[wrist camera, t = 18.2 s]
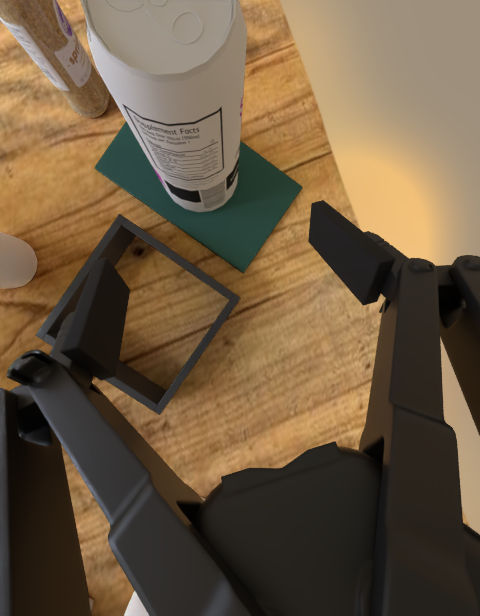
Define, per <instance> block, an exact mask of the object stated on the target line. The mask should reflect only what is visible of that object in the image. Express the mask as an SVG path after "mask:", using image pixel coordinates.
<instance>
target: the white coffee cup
mask: <svg viewBox="0 0 480 616" xmlns="http://www.w3.org/2000/svg"><path fill="white" fill-rule="evenodd" d="M37 262H38V261H37V258H36V255H35V251H34V250H33V249H32V248H31V246H30V245H29V244H28V243H26V242H25V241H23V240H21V239H19V238H17V237H14V236H11V235H8V234H5V233H2V232H0V288H12V289H13V288H17V287H21V286H24V285H25V284H27V283H28V282H29V281H31V280H32V278H33V276H34V275H35V273H36V271H37Z"/></svg>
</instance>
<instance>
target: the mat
mask: <svg viewBox="0 0 480 616" xmlns="http://www.w3.org/2000/svg"><path fill="white" fill-rule="evenodd" d="M95 169H96V170H97V171H99V172H100V173H102V174H103V175H104V176H106V177H107V178H109V179H110V180H112V181H113V182H114V183H116V184H117V185H119V186H120V187H121V188H123V189H124V190H126V191H127V192H129V193H130V194H131V195H133V196H134V197H136V198H137V199H139V200H140V201H141V202H143V203H144V204H146V205H147V206H148V207H150V208H151V209H153V210H154V211H156V212H157V213H158V214H160V215H161V216H163V217H164V218H166V219H167V220H168V221H170V222H171V223H173V224H174V225H175V226H177V227H178V228H180V229H181V230H183V231H184V232H185V233H187V234H188V235H190V236H191V237H193V238H194V239H195V240H197V241H198V242H200V243H201V244H203V245H204V246H205V247H207V248H208V249H210V250H211V251H212V252H214V253H215V254H217V255H218V256H220V257H221V258H222V259H224V260H225V261H227V262H228V263H230V264H231V265H232V266H234V267H235V268H237V269H238V270H239V271H241V272H242V273H244V271H245V270H246V268H247V267H248V265H249V264H250V263H251V261H252V260H253V258H254V257H255V255H256V254H257V252H258V251H259V250H260V248H261V247H262V245H263V244H264V242H265V241H266V239H267V238H268V236H269V235H270V234H271V232H272V231H273V229H274V228H275V226H276V225H277V223H278V222H279V221H280V219H281V218H282V216H283V215H284V213H285V212H286V210H287V209H288V208H289V206H290V205H291V203H292V202H293V200H294V199H295V197H296V196H297V195H298V193H299V192H300V190H301V189H302V186H301V185H299V184H298V183H296V182H295V181H294V180H292V179H291V178H290V177H288V176H287V175H286V174H284V173H283V172H282V171H280V170H279V169H278V168H276V167H275V166H274V165H272V164H271V163H270V162H268V161H267V160H266V159H264V158H263V157H262V156H260V155H259V154H258V153H256V152H255V151H254V150H252V149H251V148H250V147H248V146H247V145H246V144H244V143H243V142H241V141H240V150H239V164H238V179H237V185H236V188H235V190H234V192H233V195H232V196H231V198H230V199H229V200H228V201H227V202H226V203H225V204H224V205H223V206H221V207H219V208H217V209H215V210H213V211H207V212H195V211H191V210H187V209H185V208H183V207H182V206H180V205H179V204H177V203H176V202H174V200H173V199H172V198H171V196H170V195H169V194H168V192H167V191H166V189H165V188H164V186H163V184H162V182H161V181H160V179H159V177H158V175H157V174H156V172H155V170H154V168H153V167H152V165H151V163H150V161H149V160H148V158H147V156H146V154H145V153H144V151H143V149H142V147H141V146H140V144H139V142H138V140H137V139H136V137H135V135H134V133H133V132H132V130H131V128H130V126H129V125H128V123H127V121H126V123H125V124H124V125H123V127H122V128H121V130H120V131H119V133H118V134H117V136H116V137H115V139H114V140H113V141H112V143H111V144H110V146H109V147H108V149H107V150H106V152H105V153H104V154H103V156H102V157H101V159H100V160H99V162H98V163H97V165H96V166H95Z"/></svg>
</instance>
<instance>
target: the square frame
mask: <svg viewBox="0 0 480 616" xmlns="http://www.w3.org/2000/svg"><path fill="white" fill-rule="evenodd" d="M135 236H138V237H139V238H141V239H142V240H144V241H145V242H147V243H148V244H149V245H151V246H152V247H154V248H155V249H157V250H158V251H160V252H161V253H162V254H164V255H165V256H167V257H168V258H170V259H171V260H173V261H174V262H175V263H177V264H178V265H180V266H181V267H183V268H184V269H186V270H187V271H188V272H190V273H191V274H193V275H194V276H196V277H197V278H199V279H200V280H201V281H203V282H204V283H206V284H207V285H209V286H210V287H212V288H213V289H215V290H216V291H217V292H219V293H220V294H222V295H223V296H225V297H226V298H228V299H229V302H228V303H227V305H226V306H225V308H224V309H223V311H222V312H221V313H220V315H219V316H218V318H217V319H216V321H215V322H214V324H213V325H212V326H211V328H210V329H209V331H208V332H207V334H206V335H205V337H204V338H203V339H202V341H201V342H200V344H199V345H198V347H197V348H196V350H195V351H194V353H193V354H192V355H191V357H190V358H189V360H188V361H187V363H186V364H185V366H184V367H183V368H182V370H181V371H180V373H179V374H178V376H177V377H176V379H175V380H174V381H173V383H172V384H171V386H170V387H169V389H168V390H167V391H166V390H165V389H163V388H162V387H160V386H159V385H157V384H155V383H154V382H152V381H151V380H149V379H148V378H146V377H145V376H143V375H142V374H140V373H138V372H137V371H135V370H134V369H132V368H131V367H129V366H128V365H126V364H125V363H123V362H122V361H120V360H119V362H118V368H117V374H116V376H115V377H112V378H108V379H105V380H106V381H107V382H109V383H111V384H112V385H114V386H115V387H117V388H118V389H120V390H121V391H123V392H125V393H126V394H128V395H129V396H131V397H132V398H134V399H136V400H137V401H139V402H140V403H142V404H143V405H145V406H146V407H148V408H150V409H151V410H154V412H156V413H157V414H159V415H160V414H161V413H162V411H163V410H164V408H165V407H166V405H167V404H168V402H169V401H170V400H171V398H172V397H173V395H174V394H175V392H176V391H177V389H178V388H179V387H180V385H181V384H182V382H183V381H184V379H185V378H186V376H187V375H188V374H189V372H190V371H191V369H192V368H193V366H194V365H195V363H196V362H197V361H198V359H199V358H200V356H201V355H202V353H203V352H204V350H205V349H206V347H207V346H208V345H209V343H210V342H211V340H212V339H213V337H214V336H215V334H216V333H217V332H218V330H219V329H220V327H221V326H222V324H223V323H224V321H225V320H226V319H227V317H228V316H229V314H230V313H231V311H232V310H233V308H234V307H235V306H236V304H237V303H238V301H239V300H240V297H239V296H237V295H236V294H234V293H233V292H231V291H230V290H228V289H227V288H226V287H224V286H223V285H221V284H220V283H218V282H217V281H216V280H214V279H213V278H211V277H210V276H208V275H207V274H205V273H204V272H203V271H201V270H200V269H198V268H197V267H195V266H194V265H192V264H191V263H190V262H188V261H187V260H185V259H184V258H182V257H181V256H180V255H178V254H177V253H175V252H174V251H172V250H171V249H169V248H168V247H167V246H165V245H164V244H162V243H161V242H159V241H158V240H156V239H155V238H154V237H152V236H151V235H149V234H148V233H146V232H145V231H144V230H142V229H141V228H139V227H138V226H136V225H135V224H133V223H132V222H131V221H129V220H128V219H126V218H125V217H123V216H122V215H120V214H119V215H118V217H117V218H116V219H115V221H114V222H113V224H112V225H111V227H110V228H109V230H108V231H107V232H106V234H105V235H104V237H103V238H102V240H101V241H100V243H99V244H98V245H97V247H96V248H95V250H94V251H93V253H92V254H91V256H90V257H89V258H88V260H87V261H86V263H85V264H84V266H83V267H82V269H81V270H80V272H79V273H78V274H77V276H76V277H75V279H74V280H73V282H72V283H71V285H70V286H69V287H68V289H67V290H66V292H65V293H64V295H63V296H62V298H61V299H60V300H59V302H58V303H57V305H56V306H55V308H54V309H53V311H52V312H51V313H50V315H49V316H48V318H47V319H46V321H45V322H44V324H43V325H42V326H41V328H40V329H39V331H38V332H37V334H36V336H37V337H39V338H40V339H43V341H45V342H46V343H48V344H50V345H51V346H53V345H54V342H55V340H56V338H58V337H57V335H58V333H59V331H60V328H61V325H62V323H63V321H64V320H65V319H66V317H67V316H68V315H69V314H70V313H72V312H75V310H76V307H77V305H78V302H79V299H80V297H81V294H82V292H83V289H84V286H85V284H86V281H87V278H88V276H89V273H90V270H91V268H92V265H93V263H94V260H98V259H102V258H106V257H107V258H108V260H109V261H110V262H111V264H112V265H113V267H114V266H115V265H116V263H117V262H118V260H119V259H120V257H121V256H122V255H123V253H124V252H125V250H126V249H127V247H128V246H129V244H130V243H131V242H132V240H133V239H134V237H135Z"/></svg>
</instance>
